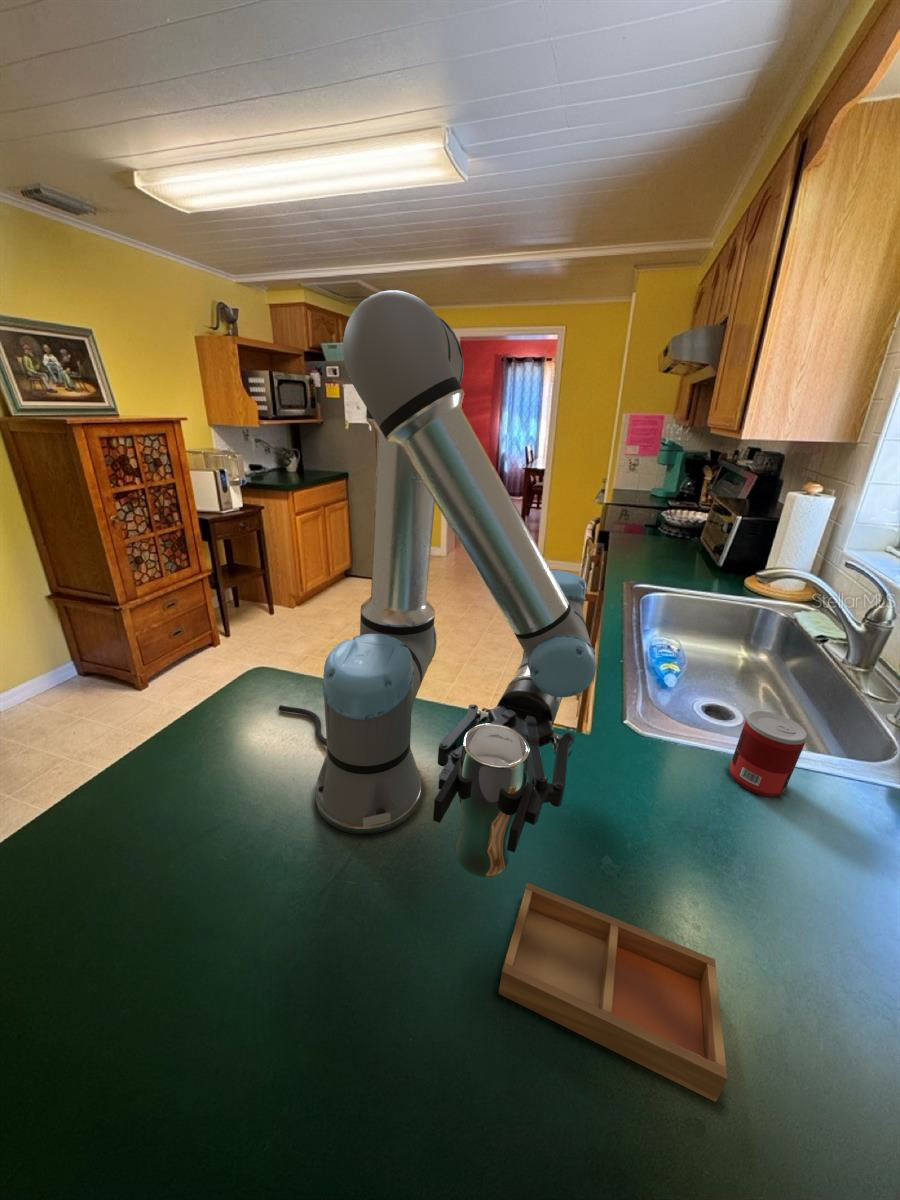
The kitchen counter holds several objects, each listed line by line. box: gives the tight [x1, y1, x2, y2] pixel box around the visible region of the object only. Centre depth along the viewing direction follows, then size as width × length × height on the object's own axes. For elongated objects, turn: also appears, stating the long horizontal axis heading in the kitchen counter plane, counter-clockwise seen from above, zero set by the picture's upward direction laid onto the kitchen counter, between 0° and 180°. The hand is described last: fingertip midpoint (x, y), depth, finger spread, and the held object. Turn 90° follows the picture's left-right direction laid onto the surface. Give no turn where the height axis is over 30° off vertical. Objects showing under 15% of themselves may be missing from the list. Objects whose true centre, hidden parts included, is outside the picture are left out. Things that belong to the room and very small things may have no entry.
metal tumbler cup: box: [454, 723, 529, 878], centre depth 49 cm, size 7×7×15 cm
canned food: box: [729, 710, 808, 797], centre depth 75 cm, size 8×8×11 cm
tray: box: [498, 882, 729, 1103], centre depth 47 cm, size 10×19×4 cm, turn 67°
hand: (473, 825), depth 45 cm, fingers closed on metal tumbler cup, 7 cm apart
